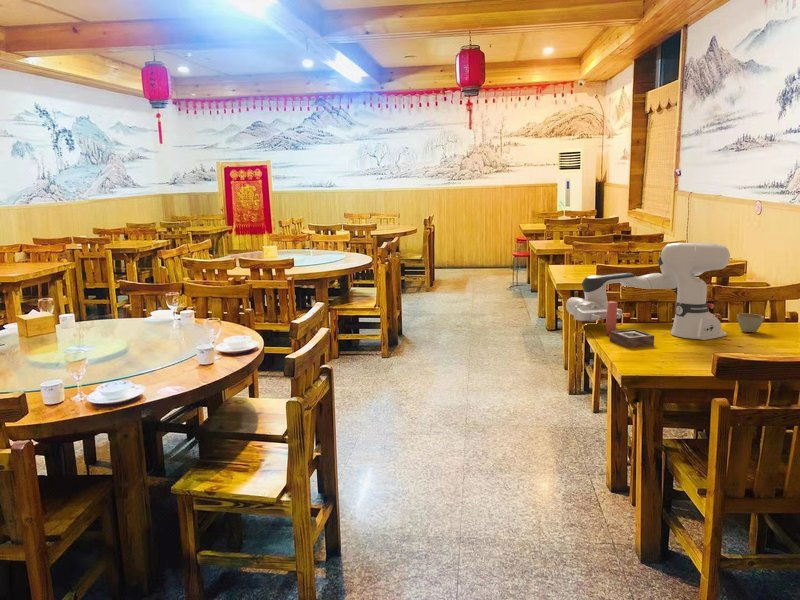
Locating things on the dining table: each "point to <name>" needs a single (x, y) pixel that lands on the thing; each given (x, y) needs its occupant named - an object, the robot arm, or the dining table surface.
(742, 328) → the flower pot
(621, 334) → the box
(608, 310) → the peg
